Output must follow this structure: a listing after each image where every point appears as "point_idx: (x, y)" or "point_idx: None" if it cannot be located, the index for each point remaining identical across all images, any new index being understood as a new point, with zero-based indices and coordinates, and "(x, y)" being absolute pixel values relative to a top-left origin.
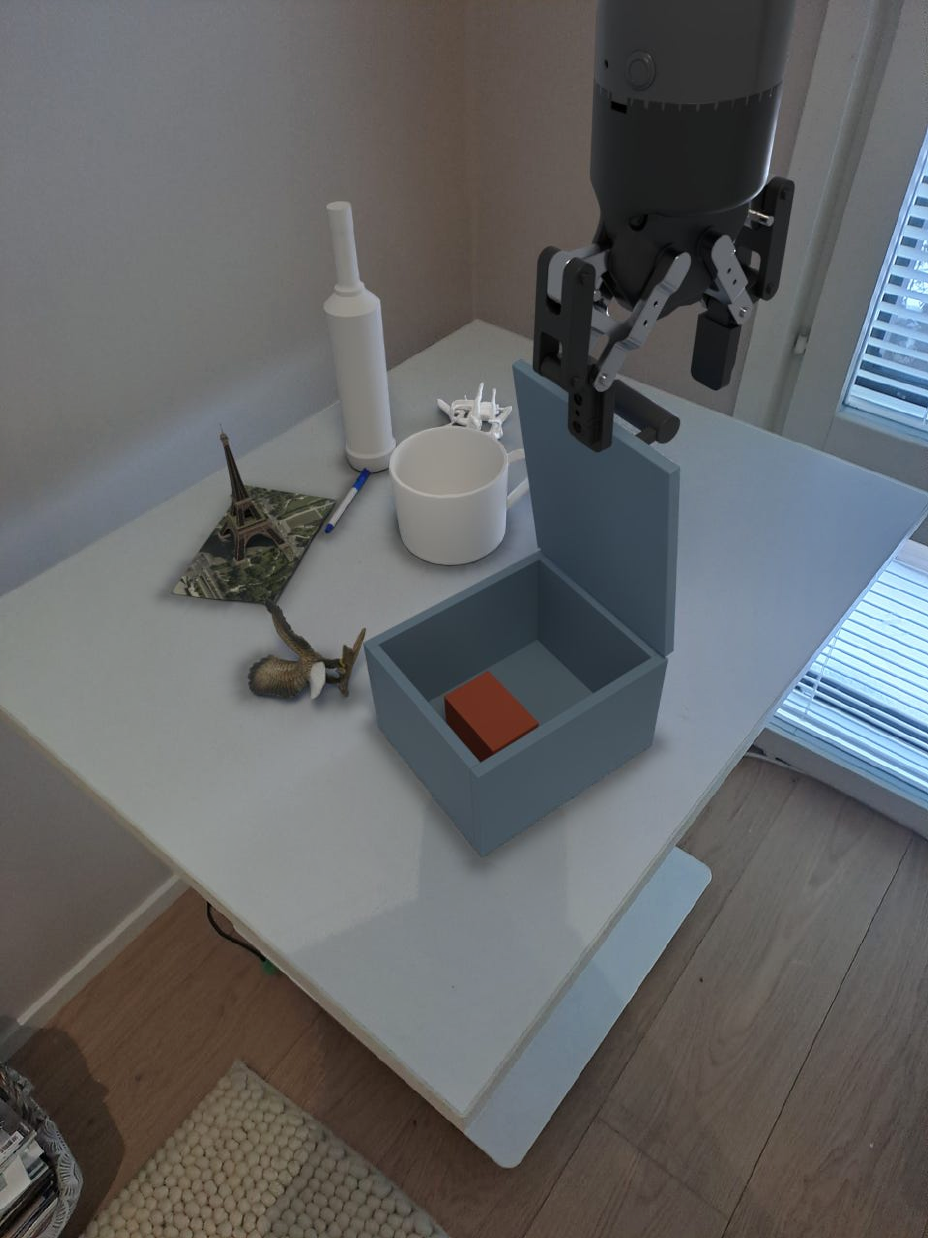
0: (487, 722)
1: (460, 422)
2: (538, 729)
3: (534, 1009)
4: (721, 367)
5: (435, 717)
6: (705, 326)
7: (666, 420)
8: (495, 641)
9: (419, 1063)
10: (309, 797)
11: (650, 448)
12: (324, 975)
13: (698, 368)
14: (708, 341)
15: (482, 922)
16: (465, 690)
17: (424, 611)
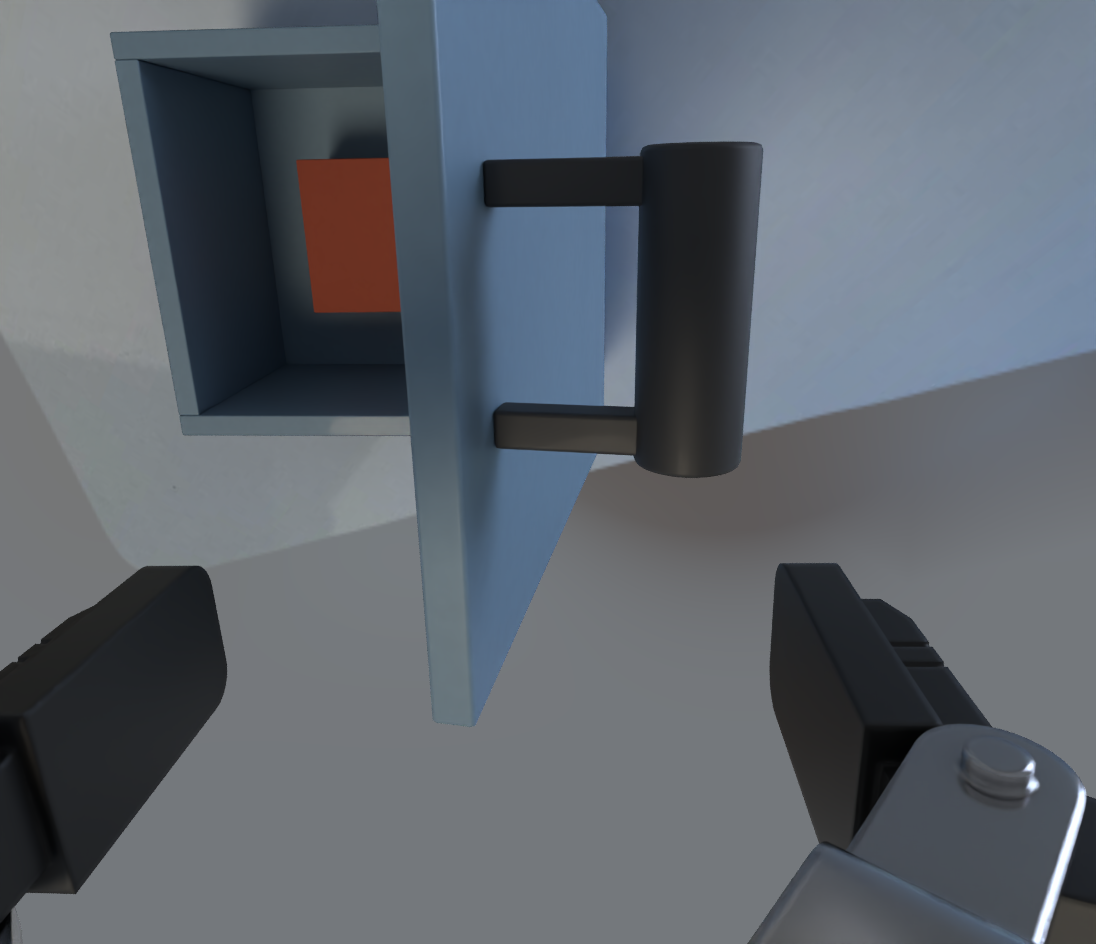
0: (335, 258)
1: None
2: (312, 420)
3: (244, 556)
4: (793, 751)
5: (169, 295)
6: (845, 745)
7: (672, 474)
8: None
9: (109, 529)
10: (90, 132)
11: (459, 620)
12: (39, 390)
13: (787, 614)
14: (822, 729)
15: (239, 446)
16: (335, 173)
17: (261, 32)
